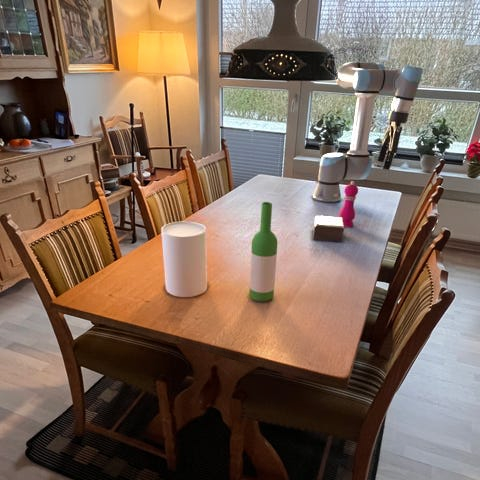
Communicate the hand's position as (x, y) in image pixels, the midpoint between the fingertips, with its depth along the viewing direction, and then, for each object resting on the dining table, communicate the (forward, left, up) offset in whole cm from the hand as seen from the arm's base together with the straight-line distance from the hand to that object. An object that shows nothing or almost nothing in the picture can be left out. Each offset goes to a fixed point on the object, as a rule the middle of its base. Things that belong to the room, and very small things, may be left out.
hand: (382, 165), depth 178 cm
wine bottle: (+59, -66, -27) cm, 93 cm away
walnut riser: (+10, -25, -27) cm, 39 cm away
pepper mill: (-3, -11, -27) cm, 30 cm away
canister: (+49, -89, -27) cm, 106 cm away
